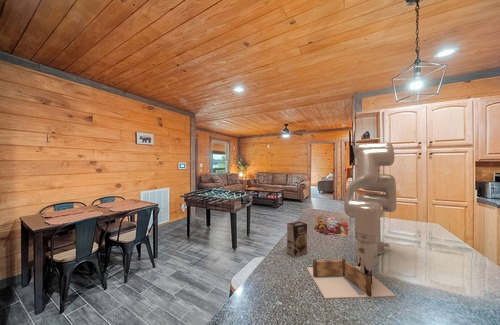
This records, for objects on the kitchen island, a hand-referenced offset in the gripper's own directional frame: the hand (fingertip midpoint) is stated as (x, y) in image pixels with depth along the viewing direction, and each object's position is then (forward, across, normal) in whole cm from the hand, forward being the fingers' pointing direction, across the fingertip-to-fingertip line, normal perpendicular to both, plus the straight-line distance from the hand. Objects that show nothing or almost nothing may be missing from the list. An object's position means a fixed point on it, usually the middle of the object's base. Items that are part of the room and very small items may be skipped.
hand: (366, 283), depth 74 cm
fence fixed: (+1, -4, +13) cm, 14 cm away
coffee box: (+2, +4, +35) cm, 35 cm away
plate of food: (+3, +53, +39) cm, 66 cm away
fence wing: (+1, -3, +2) cm, 4 cm away
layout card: (+1, -2, +7) cm, 8 cm away
